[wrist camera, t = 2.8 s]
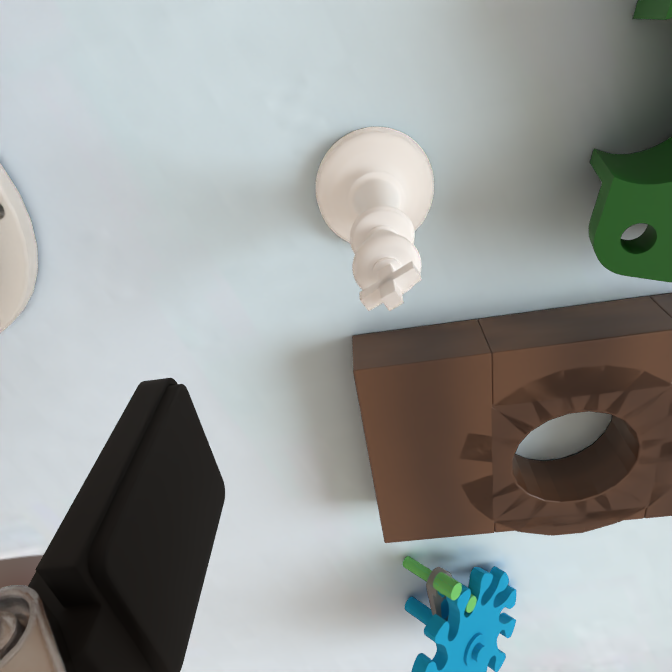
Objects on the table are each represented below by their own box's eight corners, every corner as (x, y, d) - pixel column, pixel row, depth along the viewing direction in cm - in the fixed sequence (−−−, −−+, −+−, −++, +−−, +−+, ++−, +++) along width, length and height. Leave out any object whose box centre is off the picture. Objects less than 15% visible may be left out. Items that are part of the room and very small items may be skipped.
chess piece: (291, 173, 22) (258, 278, 14) (393, 99, 20) (428, 166, 12) (357, 264, 24) (364, 404, 16) (454, 203, 23) (520, 322, 14)
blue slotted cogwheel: (530, 648, 38) (444, 772, 32) (461, 604, 42) (374, 706, 36) (516, 530, 33) (413, 649, 28) (440, 494, 38) (338, 591, 32)
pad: (382, 509, 33) (385, 551, 30) (352, 335, 26) (352, 370, 24) (655, 481, 31) (682, 523, 29) (695, 289, 25) (735, 321, 22)
